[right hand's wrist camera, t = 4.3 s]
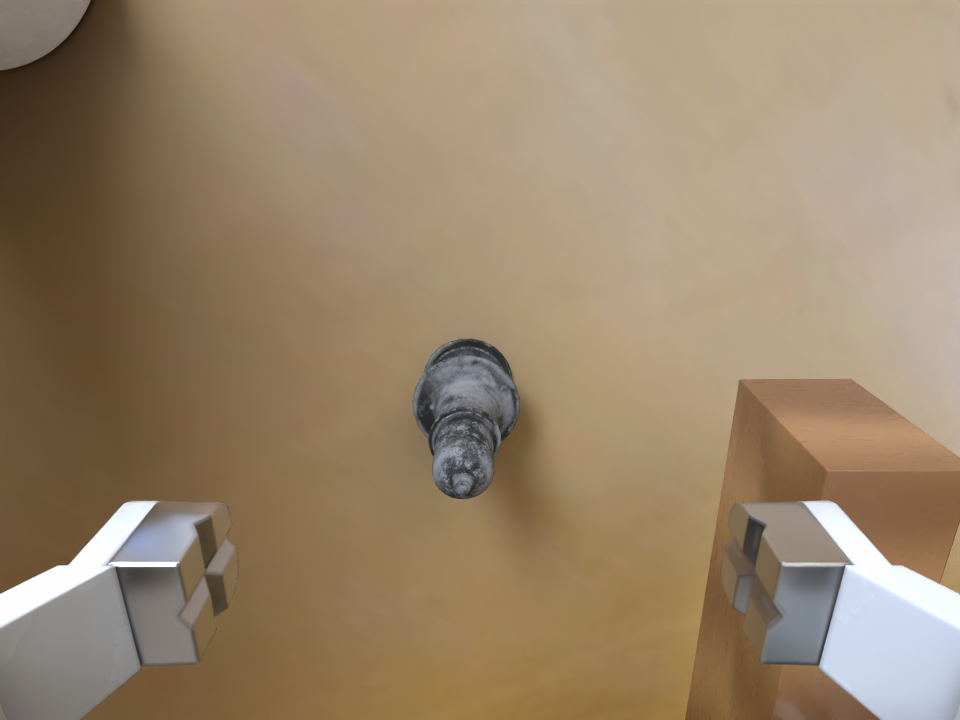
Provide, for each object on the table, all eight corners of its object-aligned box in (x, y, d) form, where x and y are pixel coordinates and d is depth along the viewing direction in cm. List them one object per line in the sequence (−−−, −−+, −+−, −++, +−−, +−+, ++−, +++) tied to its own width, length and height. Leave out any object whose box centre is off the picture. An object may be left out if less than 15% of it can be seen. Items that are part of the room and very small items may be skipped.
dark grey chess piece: (536, 370, 38) (559, 480, 27) (478, 440, 40) (477, 571, 29) (456, 314, 37) (445, 406, 26) (399, 389, 39) (366, 505, 28)
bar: (738, 379, 29) (827, 470, 22) (851, 378, 29) (978, 469, 22) (681, 743, 37) (730, 896, 30) (768, 742, 37) (839, 895, 30)
